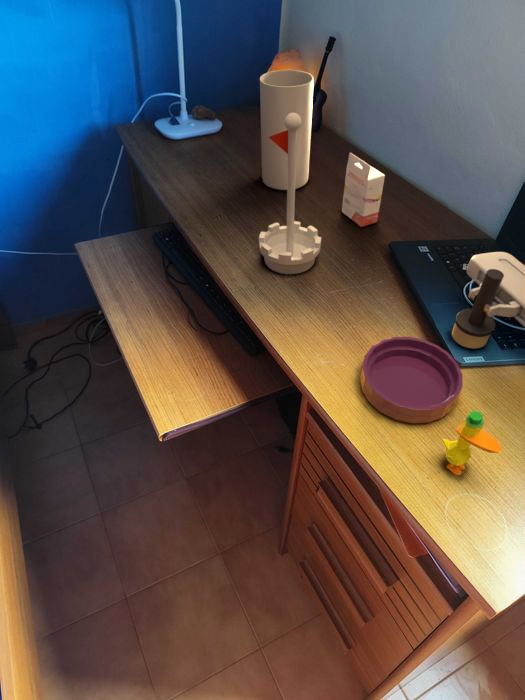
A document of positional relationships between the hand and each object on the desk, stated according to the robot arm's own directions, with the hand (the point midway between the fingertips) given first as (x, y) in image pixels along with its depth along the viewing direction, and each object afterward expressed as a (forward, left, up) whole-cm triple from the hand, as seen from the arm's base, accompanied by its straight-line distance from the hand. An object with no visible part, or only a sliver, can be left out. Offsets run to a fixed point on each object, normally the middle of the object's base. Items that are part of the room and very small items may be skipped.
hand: (479, 303), depth 77 cm
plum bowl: (-6, +15, -9) cm, 18 cm away
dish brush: (0, -1, -8) cm, 8 cm away
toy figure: (-21, +16, -9) cm, 28 cm away
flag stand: (+34, +20, -9) cm, 41 cm away
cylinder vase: (+68, +8, -9) cm, 69 cm away
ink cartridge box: (+44, -2, -9) cm, 45 cm away
